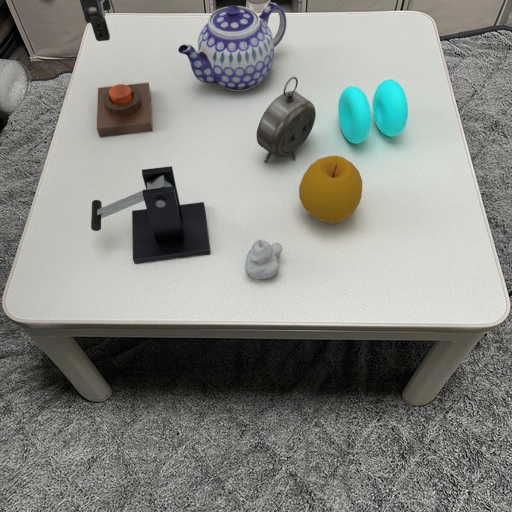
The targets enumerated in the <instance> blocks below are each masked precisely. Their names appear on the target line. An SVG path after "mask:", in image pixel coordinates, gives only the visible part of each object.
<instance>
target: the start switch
mask: <svg viewBox="0 0 512 512" xmlns="http://www.w3.org/2000/svg"><path fill="white" fill-rule="evenodd" d="M126 85H127V86H129V87H130V89H131V93H132V100H131V101H130V102H129V103H127V104H124V105H116V104H114V103H112V101H111V98H110V94H109V90H110V89H111V88H112V87H113V86H114V85H113V86H112V85H111V86H110V85H109V86H103V87H102V86H101V87H97V104H96V105H97V107H96V130H97V133H98V137H99V138H105V137H115V136H123V135H132V134H134V135H135V134H140V133H141V134H142V133H150V132H151V133H152V132H153V131H154V130H153V129H154V128H153V111H152V109H153V108H152V91H151V88H150V83H149V82H141V83H129V84H126Z"/></svg>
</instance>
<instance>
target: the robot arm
mask: <svg viewBox="0 0 512 512" xmlns="http://www.w3.org/2000/svg"><path fill="white" fill-rule="evenodd" d="M110 1H111V0H79V2H80V6H81V10H82V12H83V13H82V14H83V17H84V21H85V22H86V24H91V28H92V31H93V34H94V38H95V40H96V41H97V42H106V41H109V40H110V39H111V34H110V30H109V27H108V24H107V20H106V13H105V12H106V11H110V10H111V8H112V5H111V2H110ZM91 8H95V10H91Z"/></svg>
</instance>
